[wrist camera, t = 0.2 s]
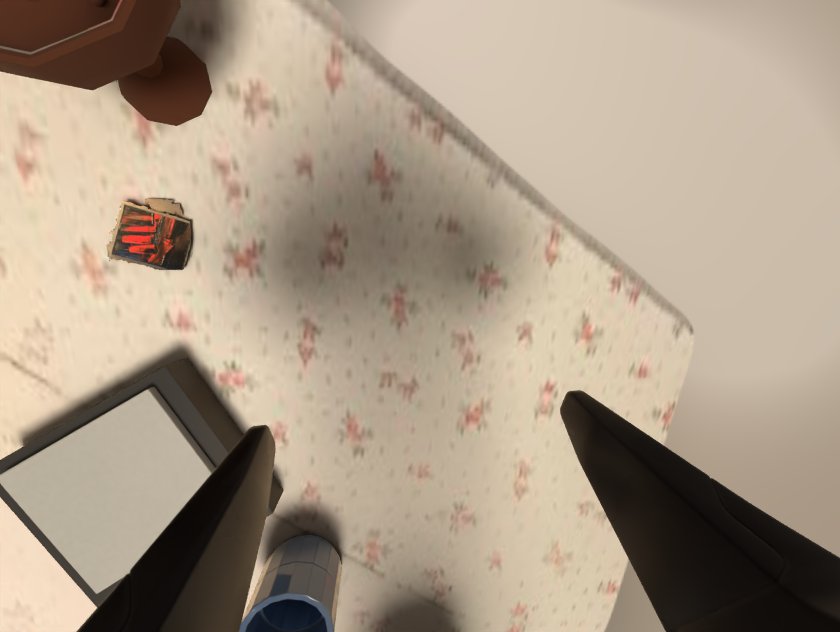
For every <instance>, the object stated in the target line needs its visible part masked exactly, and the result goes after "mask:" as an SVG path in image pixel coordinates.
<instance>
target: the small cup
mask: <svg viewBox="0 0 840 632" xmlns="http://www.w3.org/2000/svg"><path fill="white" fill-rule="evenodd" d="M341 572H342V568H341V562H340V557H339V555H338V553H337V552H336V550H335V549H334V547H333V546H332V545H331V544H330V543H329V542H328V541H327V540H325V539H323V538H321V537H319V536H315V535H301V536H297V537H294V538H291V539H289V540H288V541H286V542H285V543H283V544H282V545H280V546H279V547H277V548H276V549H275V550H274V552H273V553H272V554H271V556H270V557H269V558H268V560H267V561H266V563H265V566H264V568H263V571H262V573H261V576H260V578H259V580H258V583H257V585H256V588H255V590H254V593H253V595H252V597H251V600H250V602H249V605H248V607H247V610H246V612H245V614H244V617H243V619H242V622H241V626H240V630H239V632H334V628H335V620H336V612H337V604H338V596H339V588H340V580H341Z"/></svg>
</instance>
